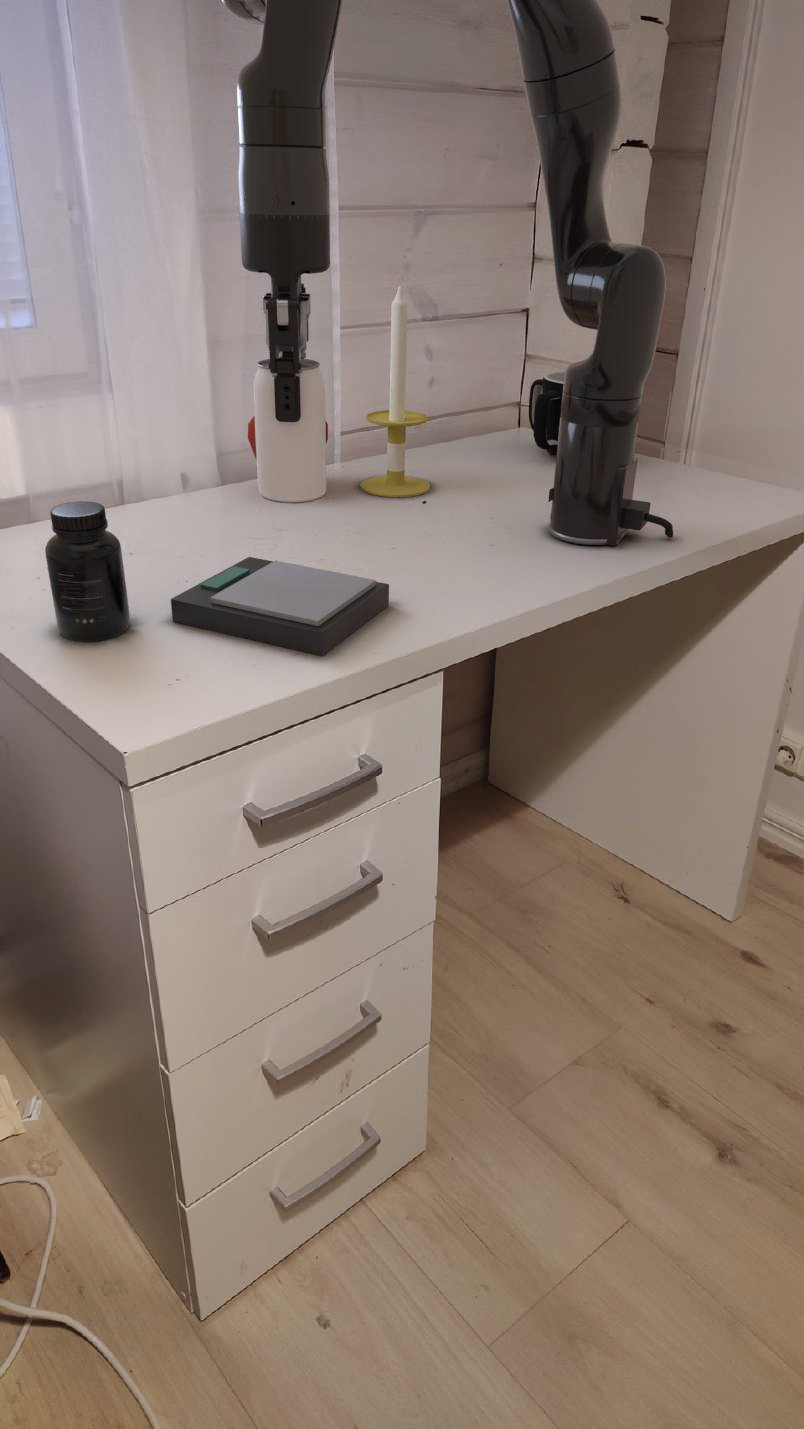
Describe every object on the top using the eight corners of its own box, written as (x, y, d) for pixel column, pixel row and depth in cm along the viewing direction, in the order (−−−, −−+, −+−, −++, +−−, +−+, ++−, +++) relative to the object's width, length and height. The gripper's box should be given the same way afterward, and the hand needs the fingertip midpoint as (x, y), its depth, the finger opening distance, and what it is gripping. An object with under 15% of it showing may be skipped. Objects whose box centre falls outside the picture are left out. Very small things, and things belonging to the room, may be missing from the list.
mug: (520, 463, 157) (527, 383, 151) (526, 439, 170) (532, 366, 165) (627, 470, 154) (638, 390, 149) (624, 446, 168) (634, 371, 163)
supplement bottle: (65, 615, 100) (48, 497, 95) (135, 614, 101) (122, 497, 95) (50, 643, 94) (30, 519, 89) (124, 643, 95) (110, 519, 89)
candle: (444, 487, 144) (454, 283, 131) (398, 501, 137) (403, 288, 124) (392, 473, 150) (396, 276, 137) (345, 486, 143) (345, 281, 130)
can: (315, 507, 93) (313, 371, 87) (248, 501, 94) (241, 367, 88) (334, 488, 98) (333, 359, 92) (270, 483, 99) (265, 355, 93)
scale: (388, 605, 105) (389, 578, 103) (322, 656, 93) (322, 626, 92) (250, 577, 111) (248, 551, 109) (172, 621, 100) (169, 593, 98)
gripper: (327, 214, 78) (330, 431, 86) (331, 207, 91) (332, 397, 99) (230, 211, 78) (241, 430, 86) (247, 205, 90) (255, 396, 98)
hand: (290, 412), depth 92 cm, fingers closed on can, 6 cm apart
